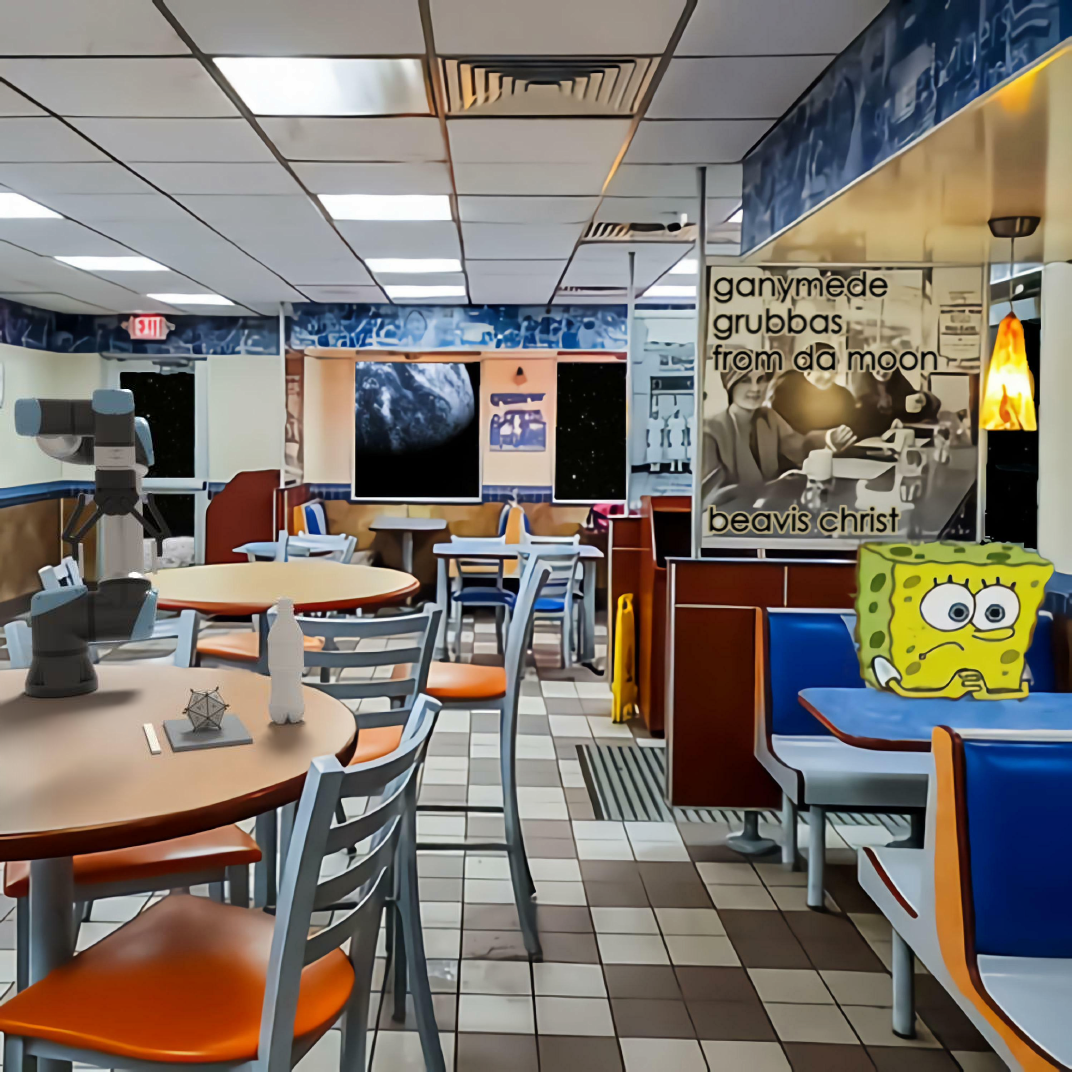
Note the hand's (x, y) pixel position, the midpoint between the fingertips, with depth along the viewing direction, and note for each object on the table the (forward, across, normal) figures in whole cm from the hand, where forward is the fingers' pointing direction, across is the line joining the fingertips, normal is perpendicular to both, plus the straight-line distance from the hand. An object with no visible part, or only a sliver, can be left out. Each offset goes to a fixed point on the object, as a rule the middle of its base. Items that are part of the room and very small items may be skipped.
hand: (118, 575), depth 209 cm
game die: (+28, +14, -17) cm, 36 cm away
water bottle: (+29, +30, -15) cm, 44 cm away
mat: (+29, +14, -17) cm, 36 cm away
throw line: (+29, +4, -17) cm, 34 cm away
